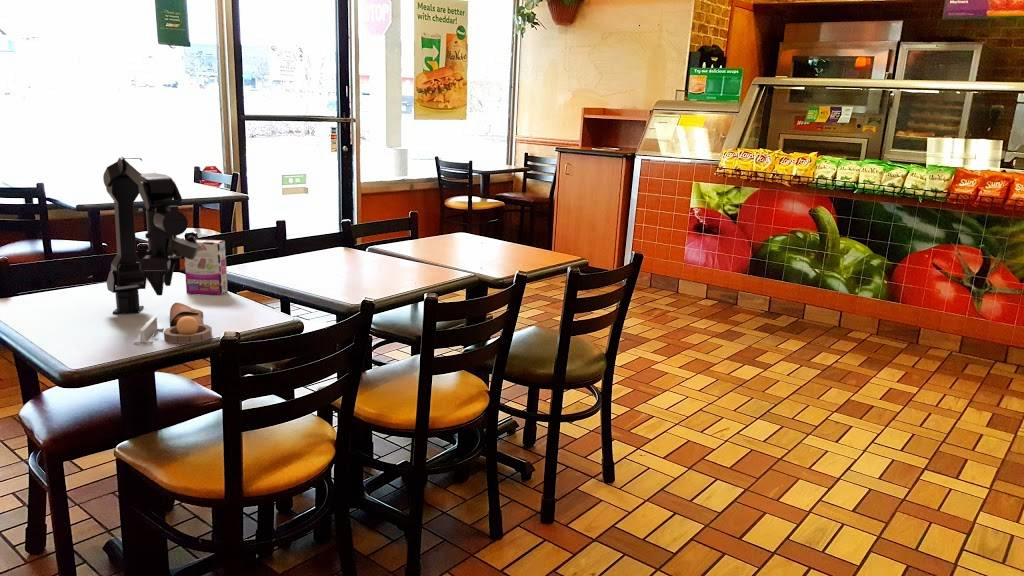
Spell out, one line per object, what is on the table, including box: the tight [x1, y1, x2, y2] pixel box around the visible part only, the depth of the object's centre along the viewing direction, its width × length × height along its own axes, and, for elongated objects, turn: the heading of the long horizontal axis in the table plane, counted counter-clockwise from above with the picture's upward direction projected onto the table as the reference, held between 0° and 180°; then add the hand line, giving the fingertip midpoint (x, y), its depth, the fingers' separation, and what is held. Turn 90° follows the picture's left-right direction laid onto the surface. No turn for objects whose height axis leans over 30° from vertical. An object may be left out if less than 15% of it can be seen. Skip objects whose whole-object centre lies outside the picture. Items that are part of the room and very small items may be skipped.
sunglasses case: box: [169, 302, 204, 328], centre depth 201 cm, size 18×7×7 cm
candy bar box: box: [183, 239, 229, 296], centre depth 231 cm, size 11×5×16 cm, turn 88°
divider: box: [133, 316, 165, 345], centre depth 189 cm, size 12×4×4 cm, turn 11°
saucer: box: [163, 323, 213, 345], centre depth 189 cm, size 11×11×2 cm
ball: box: [177, 316, 198, 335], centre depth 189 cm, size 5×5×5 cm
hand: (163, 290), depth 188 cm, fingers open, 9 cm apart
